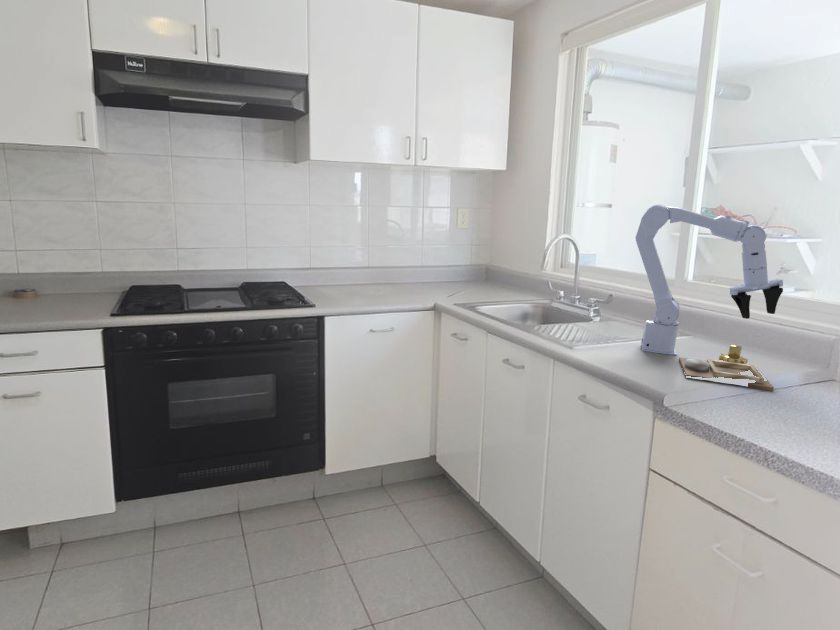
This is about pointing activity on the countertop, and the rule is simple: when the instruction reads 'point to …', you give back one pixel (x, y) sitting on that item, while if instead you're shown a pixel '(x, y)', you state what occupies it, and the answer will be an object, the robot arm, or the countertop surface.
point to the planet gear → (733, 355)
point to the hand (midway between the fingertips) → (758, 315)
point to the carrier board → (723, 371)
